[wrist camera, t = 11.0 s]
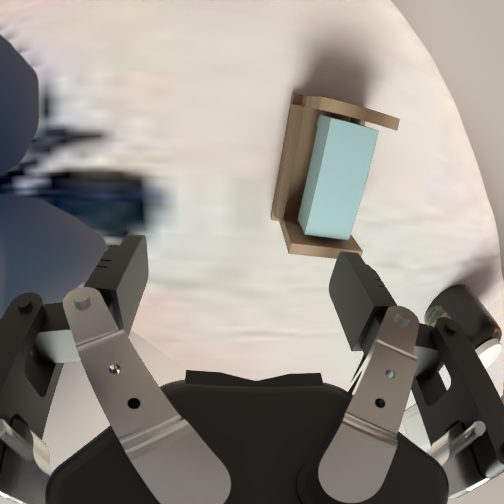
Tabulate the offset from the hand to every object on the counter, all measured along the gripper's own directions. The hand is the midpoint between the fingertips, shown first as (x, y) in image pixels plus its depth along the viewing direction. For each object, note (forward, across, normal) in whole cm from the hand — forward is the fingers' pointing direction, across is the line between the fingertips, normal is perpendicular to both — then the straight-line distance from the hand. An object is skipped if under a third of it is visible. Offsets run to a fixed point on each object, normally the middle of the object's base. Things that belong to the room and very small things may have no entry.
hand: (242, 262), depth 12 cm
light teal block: (+20, -10, +1) cm, 23 cm away
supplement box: (+22, -60, +64) cm, 91 cm away
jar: (+23, -44, +23) cm, 55 cm away
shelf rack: (+24, -10, +1) cm, 26 cm away
